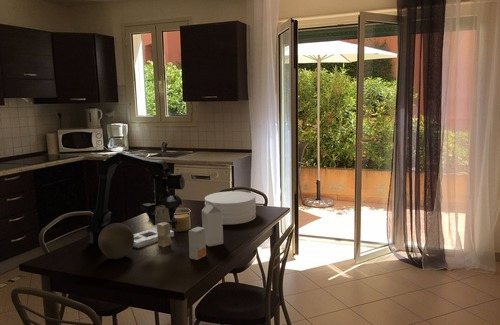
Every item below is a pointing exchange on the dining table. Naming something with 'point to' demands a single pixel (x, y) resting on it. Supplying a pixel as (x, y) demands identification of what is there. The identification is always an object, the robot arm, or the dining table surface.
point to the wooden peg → (163, 234)
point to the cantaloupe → (116, 240)
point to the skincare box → (197, 243)
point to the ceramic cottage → (162, 214)
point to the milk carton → (212, 224)
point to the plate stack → (234, 206)
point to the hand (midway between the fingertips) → (163, 223)
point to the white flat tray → (147, 237)
